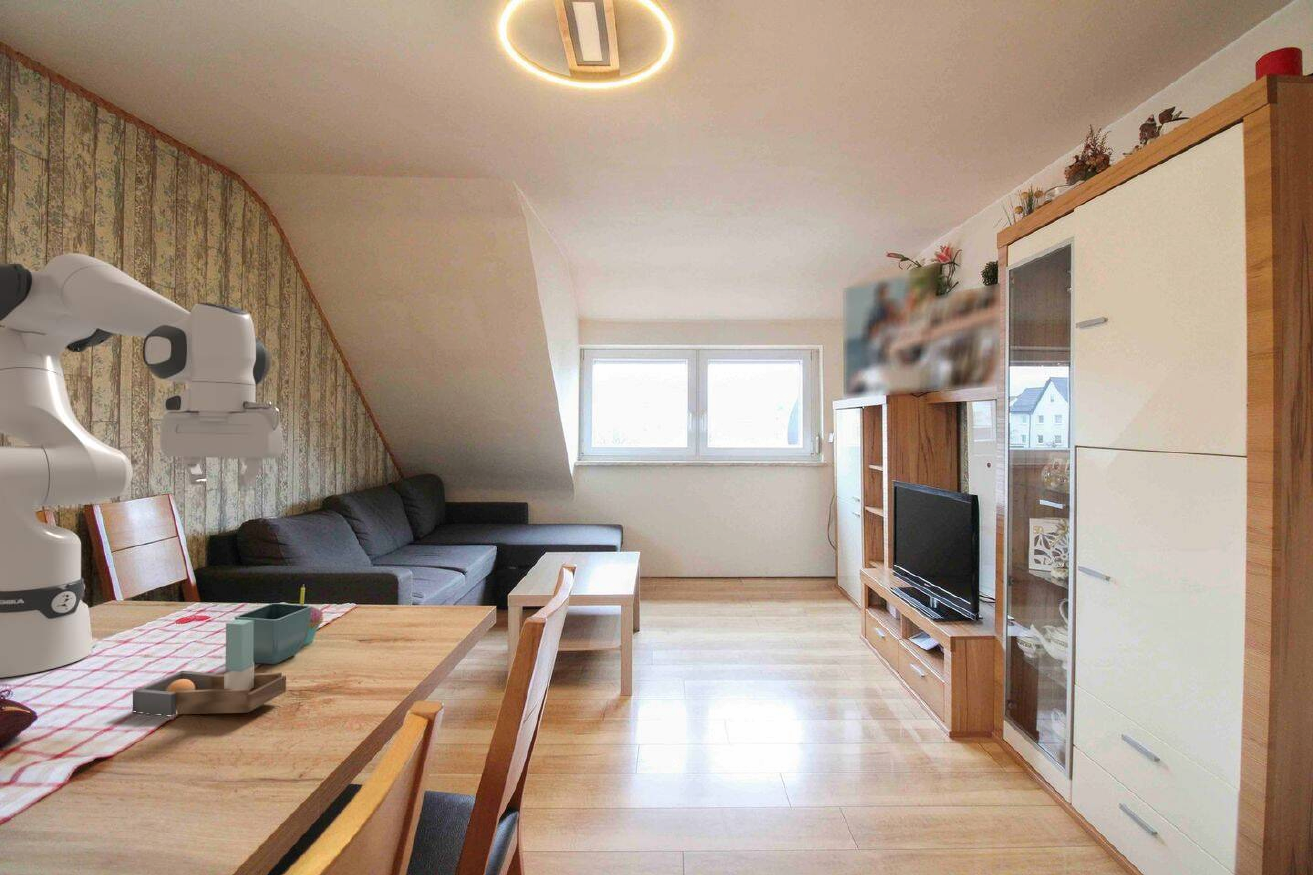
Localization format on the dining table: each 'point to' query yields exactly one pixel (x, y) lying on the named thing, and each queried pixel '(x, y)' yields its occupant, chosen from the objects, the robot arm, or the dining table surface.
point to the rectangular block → (239, 654)
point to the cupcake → (311, 620)
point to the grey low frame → (166, 693)
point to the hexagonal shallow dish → (231, 695)
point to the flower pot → (278, 631)
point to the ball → (181, 685)
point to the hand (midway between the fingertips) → (222, 485)
